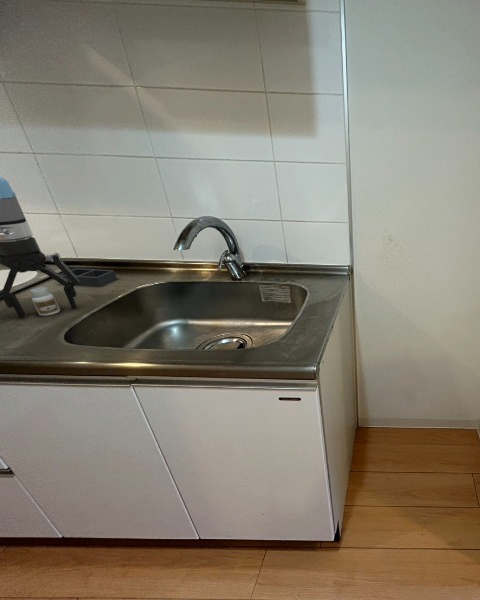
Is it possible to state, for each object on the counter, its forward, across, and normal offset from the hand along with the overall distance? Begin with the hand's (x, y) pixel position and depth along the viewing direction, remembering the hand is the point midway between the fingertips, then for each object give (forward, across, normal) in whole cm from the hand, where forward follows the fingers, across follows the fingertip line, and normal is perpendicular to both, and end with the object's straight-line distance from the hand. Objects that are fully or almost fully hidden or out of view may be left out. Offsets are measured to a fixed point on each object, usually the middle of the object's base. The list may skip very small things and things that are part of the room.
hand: (49, 311), depth 92 cm
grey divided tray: (+1, +8, +23) cm, 24 cm away
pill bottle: (+1, 0, 0) cm, 1 cm away
